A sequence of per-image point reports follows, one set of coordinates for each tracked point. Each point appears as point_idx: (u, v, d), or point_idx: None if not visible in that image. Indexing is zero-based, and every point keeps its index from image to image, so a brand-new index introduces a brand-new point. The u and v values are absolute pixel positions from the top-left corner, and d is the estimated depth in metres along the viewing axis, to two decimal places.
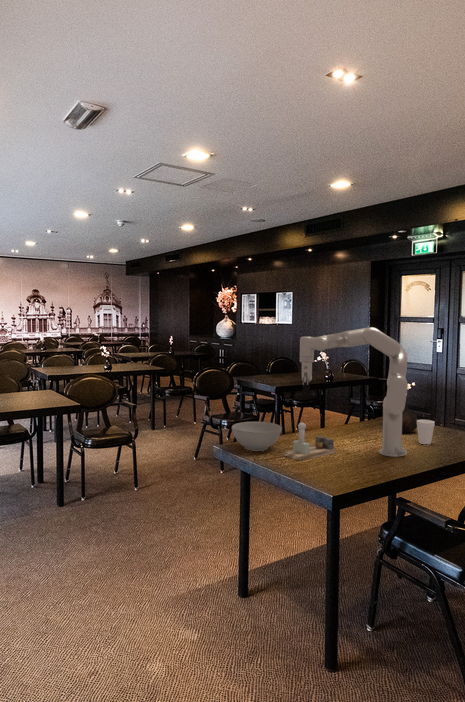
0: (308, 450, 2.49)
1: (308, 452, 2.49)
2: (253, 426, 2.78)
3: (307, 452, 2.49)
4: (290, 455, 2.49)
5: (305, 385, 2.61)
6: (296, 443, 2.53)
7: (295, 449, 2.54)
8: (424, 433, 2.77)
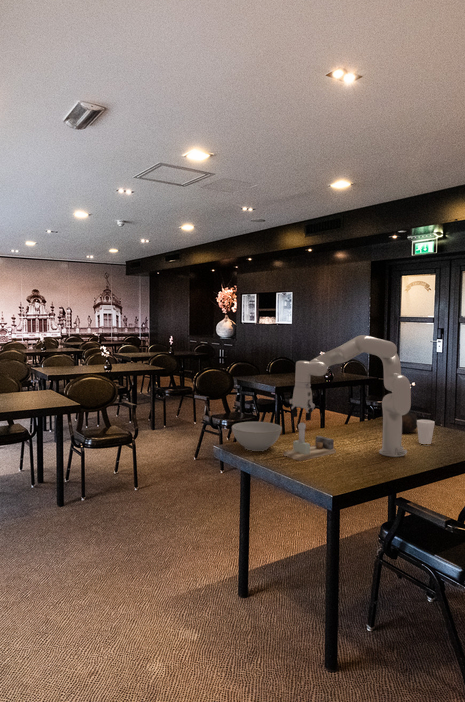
0: (308, 450, 2.49)
1: (308, 452, 2.49)
2: (253, 426, 2.78)
3: (307, 452, 2.49)
4: (290, 455, 2.49)
5: (310, 413, 2.47)
6: (296, 443, 2.53)
7: (295, 449, 2.54)
8: (424, 433, 2.77)
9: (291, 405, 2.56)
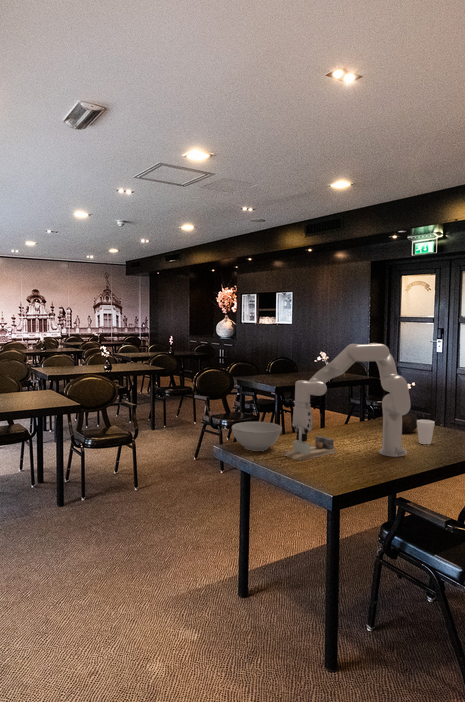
0: (308, 450, 2.49)
1: (308, 452, 2.49)
2: (253, 426, 2.78)
3: (307, 452, 2.49)
4: (290, 455, 2.49)
5: (306, 434, 2.50)
6: (296, 443, 2.53)
7: (295, 449, 2.54)
8: (424, 433, 2.77)
9: (295, 428, 2.54)
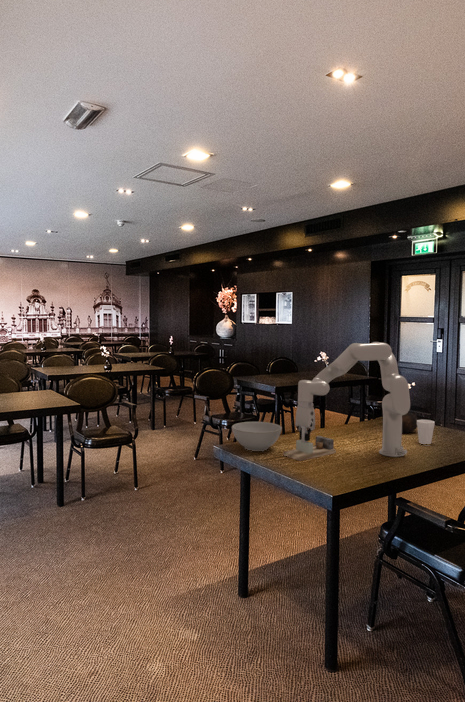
0: (311, 449, 2.50)
1: (311, 451, 2.51)
2: (253, 426, 2.78)
3: (310, 451, 2.50)
4: (290, 455, 2.49)
5: (309, 433, 2.51)
6: (299, 442, 2.54)
7: (298, 448, 2.55)
8: (424, 433, 2.77)
9: (298, 427, 2.56)
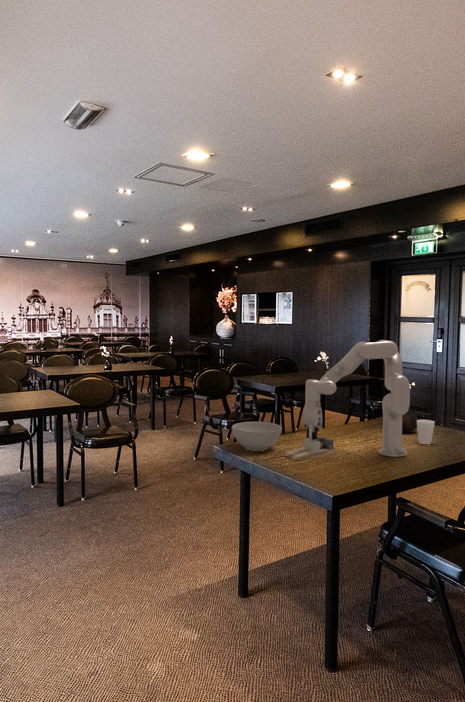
0: (318, 448, 2.54)
1: (318, 450, 2.54)
2: (253, 426, 2.78)
3: (317, 450, 2.53)
4: (290, 455, 2.49)
5: (316, 432, 2.54)
6: (307, 441, 2.57)
7: (305, 447, 2.58)
8: (424, 433, 2.77)
9: (305, 426, 2.59)
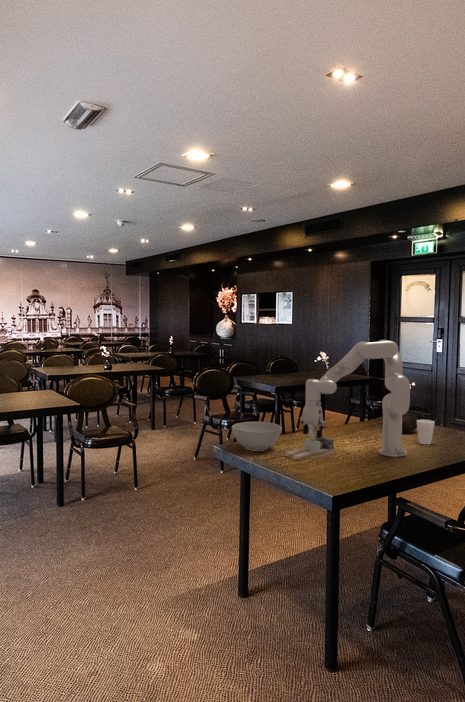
0: (318, 448, 2.54)
1: (318, 450, 2.54)
2: (253, 426, 2.78)
3: (317, 450, 2.53)
4: (290, 455, 2.49)
5: (321, 430, 2.52)
6: (307, 441, 2.57)
7: (305, 447, 2.58)
8: (424, 433, 2.77)
9: (302, 422, 2.61)
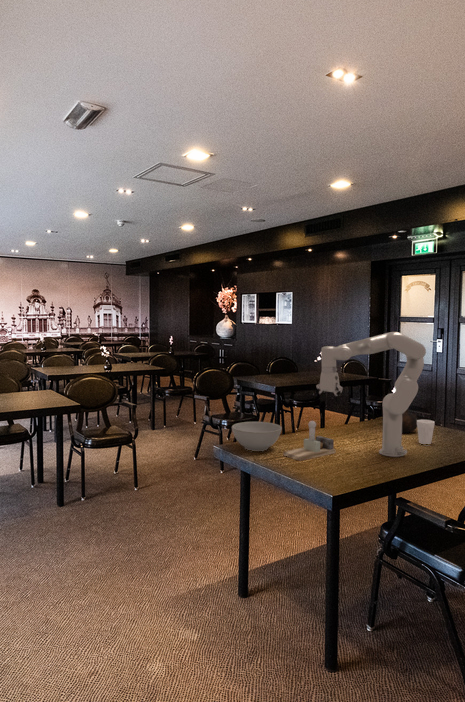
0: (318, 448, 2.54)
1: (318, 450, 2.54)
2: (253, 426, 2.78)
3: (317, 450, 2.53)
4: (290, 455, 2.49)
5: (338, 396, 2.55)
6: (307, 441, 2.57)
7: (305, 447, 2.58)
8: (424, 433, 2.77)
9: (318, 390, 2.64)
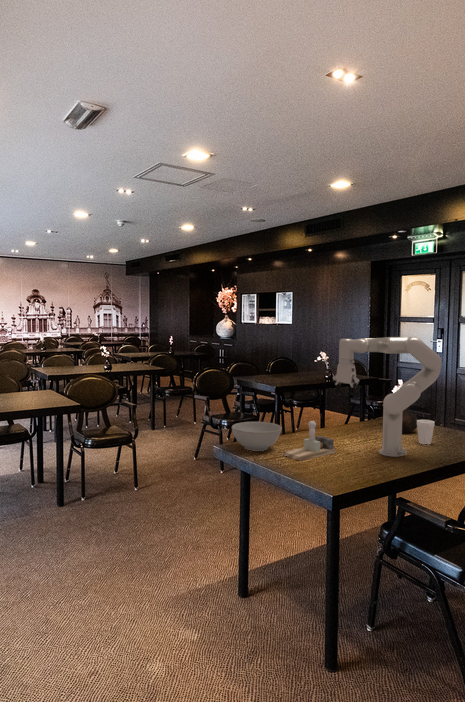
0: (318, 448, 2.54)
1: (318, 450, 2.54)
2: (253, 426, 2.78)
3: (317, 450, 2.53)
4: (290, 455, 2.49)
5: (354, 388, 2.60)
6: (307, 441, 2.57)
7: (305, 447, 2.58)
8: (424, 433, 2.77)
9: (335, 381, 2.69)
